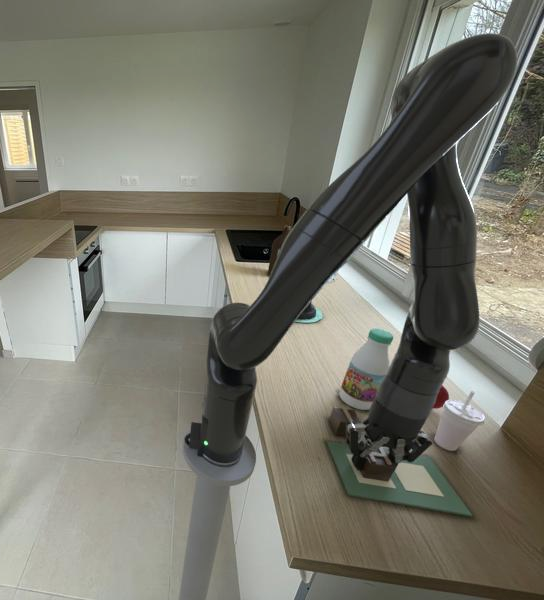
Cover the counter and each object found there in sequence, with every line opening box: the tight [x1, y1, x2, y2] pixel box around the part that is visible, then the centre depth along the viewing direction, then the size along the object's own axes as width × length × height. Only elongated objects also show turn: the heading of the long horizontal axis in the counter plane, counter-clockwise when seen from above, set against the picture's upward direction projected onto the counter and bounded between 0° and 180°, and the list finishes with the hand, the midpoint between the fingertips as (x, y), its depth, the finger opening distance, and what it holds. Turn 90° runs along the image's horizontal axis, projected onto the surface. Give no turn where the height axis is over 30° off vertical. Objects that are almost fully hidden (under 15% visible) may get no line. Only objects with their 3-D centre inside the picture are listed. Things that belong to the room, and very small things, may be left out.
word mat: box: [326, 441, 473, 518], centre depth 63 cm, size 20×12×1 cm, turn 80°
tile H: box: [360, 446, 396, 482], centre depth 62 cm, size 4×4×4 cm
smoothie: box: [433, 390, 486, 452], centre depth 67 cm, size 6×6×14 cm
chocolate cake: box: [294, 300, 324, 324], centre depth 127 cm, size 15×19×20 cm
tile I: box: [328, 406, 363, 437], centre depth 73 cm, size 4×4×4 cm
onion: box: [432, 384, 450, 409], centre depth 79 cm, size 6×6×8 cm
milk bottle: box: [338, 328, 394, 411], centre depth 78 cm, size 8×8×20 cm
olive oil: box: [267, 225, 292, 276], centre depth 161 cm, size 11×11×25 cm
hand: (370, 468), depth 63 cm, fingers closed on tile H, 4 cm apart
